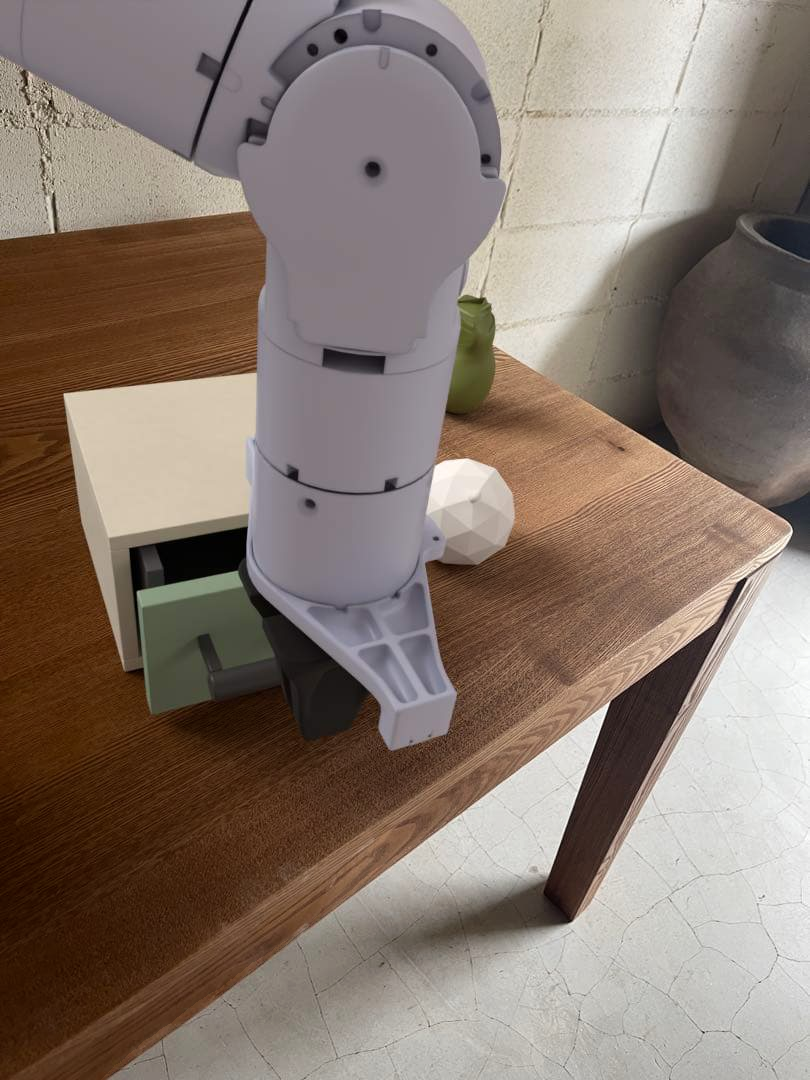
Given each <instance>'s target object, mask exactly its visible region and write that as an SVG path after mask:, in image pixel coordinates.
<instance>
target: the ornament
mask: <svg viewBox="0 0 810 1080" xmlns="http://www.w3.org/2000/svg"><path fill="white" fill-rule="evenodd" d="M426 514H427V515H428V516H429V517H430V518H431V519H432V520H433V521H434V523H435V524H436V525H437V527H438V528H439V529H440V531H441V532H442V534H443V535H444V536H445V539H446V545H445V550H444V554H443V556H442V557H441V558H439V559H437V560H436V561H438V562H441V563H443V564H449V565H450V564H452V565H473V566H477V565H480V564H482V563H483V562H484V561H486V560H487V559H489V558H490V557H491V556H493V555H494V554H496V553H498V552H499V551H500V550H502V549H504V548H505V547H506V544H507V542H508V539H509V537H510V535H511V532H512V530H513V527H514V524H515V520H516V519H515V517H516V511H515V503H514V494H513V492H512V491H511V489H510V487H509V486H508V485H507V482H506V481H505V480H504V478H503V476H501V474H500V472H499V471H498V469H497V468H496V467H493V466H491V465H487V464H484V463H482V462H479V461H477V460H473V459H471V458H468V457H467V458H457V459H449V460H443V461H442V462H440V463H438V464H435V468H434V474H433V479H432V485H431V490H430V496H429V501H428V506H427V512H426Z"/></svg>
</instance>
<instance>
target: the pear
mask: <svg viewBox="0 0 810 1080" xmlns="http://www.w3.org/2000/svg"><path fill="white" fill-rule="evenodd" d="M457 307H458V309H459V312H460V318H461V329H460V335H459V340H458V344H457V350H456V355H455V361H454V366H453V372H452V377H451V383H450V388H449V394H448V399H447V404H446V410H445V412H448V413H452V414H466V413H469V412H472V411H474V410H476V409H477V408H478V407H480V406H481V405H482V404H483V403H484V401H485V400H486V399H487V398H488V395H489V393H490V392H491V389H492V386H493V384H494V381H495V376H496V368H497V367H496V355H495V351H494V340H495V336H496V330H497V329H496V318H495V317H496V316H495V315H494V313H493V312H492V310H493V307H492V303H490V302H488V300H487V296H484V297H483V296H482V297H477V296H474V295H470V294H463V295H462V296H460V297H458V302H457Z"/></svg>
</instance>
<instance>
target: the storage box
mask: <svg viewBox="0 0 810 1080" xmlns="http://www.w3.org/2000/svg"><path fill="white" fill-rule="evenodd" d="M256 388H257V372H249V373H241V374H232V375H223V376H212V377H204V378H192V379H186V380H175V381H167V382H166V381H165V382H157V383H148V384H140V385H131V386H119V387H111V388H102V389H101V388H100V389H94V390H92V389H91V390H83V391H74V392H66V393H65V392H64V393H63V402H64V407H65V415H66V422H67V429H68V436H69V443H70V449H71V450H70V451H71V458H72V465H73V470H74V471H73V472H74V478H75V485H76V492H77V499H78V507H79V514H80V519H81V520H80V521H81V525H82V528H83V531H84V536H85V538H86V542H87V546H88V549H89V554H90V556H91V560H92V563H93V566H94V571H95V574H96V578H97V581H98V585H99V588H100V592H101V595H102V598H103V602H104V605H105V609H106V612H107V616H108V619H109V623H110V626H111V630H112V634H113V637H114V640H115V644H116V647H117V650H118V655H119V658H120V661H121V664H122V668H123V671H124V672H130V671H134V670H138V669H144V664H143V654H142V643H141V633H140V622H139V618H138V615H137V612H136V609H135V605H134V595H133V585H132V575H131V565H130V554H129V548H132V547H137V546H143V545H148V544H154V543H159V542H165V541H170V540H176V539H181V538H187V537H192V536H198V535H203V534H209V533H214V532H220V531H225V530H231V529H236V528H242V527H247V526H248V521H249V509H250V496H251V486H250V484H249V482H248V480H247V478H246V438H248V437H255V433H256Z"/></svg>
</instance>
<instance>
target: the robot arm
mask: <svg viewBox="0 0 810 1080" xmlns="http://www.w3.org/2000/svg"><path fill="white" fill-rule="evenodd" d="M0 57H2V58H4V59H6V60H7V61H9V62H10V63H12V64H14V65H16V66H18V67H20V68H22V69H23V70H25V71H27V72H29V73H30V74H31V75H32V74H33V75H34V76H35V77H38V79H41V80H42V81H45V82H47V84H49V85H52V86H53V87H55V88H57V89H59V90H60V91H63V92H64V93H66V94H67V95H69V96H71V97H73V98H75V99H77V100H78V101H80V102H82V103H84V104H85V105H87V106H88V107H90V108H93V109H94V110H96V111H98V112H100V113H101V114H103V115H105V116H106V117H109V118H110V119H112V120H114V121H116V122H117V123H119V124H121V125H123V126H124V127H127V128H128V129H130V130H132V131H133V132H135V133H137V134H138V135H141V136H142V137H144V138H146V139H148V140H149V141H151V142H153V143H154V144H157V145H158V146H160V147H162V148H164V149H165V150H168V151H169V152H171V153H172V154H174V155H176V156H178V157H179V158H182V159H183V160H185V161H187V162H188V163H193V164H194V166H195V167H197V168H199V169H201V170H203V171H204V172H206V173H208V174H210V175H212V176H214V177H218V178H225V179H230V180H234V181H238V182H240V186H241V188H242V193H243V196H244V198H245V201H246V204H247V207H248V209H249V212H250V213H251V215H252V217H253V219H254V221H255V224H256V225H257V226H258V228H259V230H260V231H261V233H262V234H263V236H264V237H265V239H266V249H265V251H266V252H265V283H264V284H263V286H262V288H261V289H260V294H259V297H258V301H257V344H256V345H257V346H256V348H257V349H256V351H257V352H256V373H257V388H256V433H255V437H248V438H246V478H247V480H248V482H249V484H250V486H251V496H250V509H249V521H248V534H247V557H246V558H244V559H243V560H242V561H241V563H240V565H239V568H238V575H239V577H240V580H241V582H242V584H243V586H244V588H245V591H246V593H247V595H248V597H249V599H250V602H251V603H252V605H253V606H254V607H255V608H256V610H257V611H258V612H259V614H260V615H261V617H262V618H263V620H262V628H263V630H264V632H265V635H266V637H267V639H268V641H269V643H270V646H271V648H272V650H273V652H274V655H275V660H276V664H277V669H278V673H279V678H280V682H281V685H280V687H281V689H282V693H283V695H284V698H285V700H286V702H287V705H288V707H289V709H290V711H291V714H292V715H294V720H295V723H296V724H297V727H298V729H299V732H300V734H301V736H302V739H303V740H304V741H305V742H312V741H316V740H319V739H322V738H325V737H329V736H332V735H335V734H339V733H342V732H345V731H349V730H350V728H351V727H352V725H353V723H354V722H355V720H356V718H357V717H358V715H359V713H360V711H361V709H362V707H363V706H364V704H365V702H366V701H367V699H368V698H369V697H370V695H372V696H373V697H374V699H375V700H376V701H377V702H378V704H379V706H380V715H379V721H378V732H379V734H380V736H381V738H382V740H383V741H384V743H385V745H386V747H387V749H388V750H389V751H391V752H392V751H396V750H399V749H403V748H405V747H409V746H414V745H417V744H420V743H423V742H426V741H430V740H432V739H435V738H438V737H441V736H445V735H447V734H448V731H449V727H450V724H451V720H452V716H453V712H454V708H455V704H456V700H457V697H458V692H457V691H456V689H455V688H454V686H453V683H452V682H451V680H450V678H449V677H448V673H447V672H446V670H445V668H444V664H443V661H442V657H441V654H440V653H441V652H440V648H439V643H438V637H437V631H436V624H435V618H434V612H433V606H432V600H431V594H430V587H429V581H428V573H427V569H426V563H428V562H432V561H435V560H436V561H438V560H437V559H439V558H441V557H442V556H443V554H444V550H445V545H446V539H445V536H444V535H443V534H442V532H441V531H440V529H439V528H438V527H437V525H436V524H435V523H434V521H433V520H432V519H431V518H430V517H429V516H428V515H427V514H426V512H427V506H428V501H429V496H430V490H431V485H432V479H433V474H434V468H435V466H436V464H437V456H438V453H439V447H440V442H441V436H442V431H443V425H444V421H445V415H446V411H445V410H446V404H447V399H448V394H449V388H450V383H451V377H452V372H453V366H454V361H455V355H456V350H457V344H458V340H459V335H460V329H461V318H460V312H459V309H458V307H457V302H458V299H459V298H460V297H461V295H462V293H463V291H464V289H465V286H466V283H467V280H468V274H469V267H470V258H471V257H472V256H473V255H474V254H475V252H476V251H478V249H479V247H480V246H481V245H482V244H483V243H484V241H485V240H486V238H487V237H488V235H489V234H490V232H491V230H492V228H493V226H494V225H495V222H496V221H497V218H498V216H499V214H500V211H501V209H502V206H503V203H504V199H505V197H506V193H507V185H506V183H505V181H504V180H503V179H501V178H500V171H501V160H502V138H501V128H500V124H499V120H498V115H497V111H496V107H495V102H494V97H493V93H492V89H491V83H490V80H489V79H490V78H489V75H488V71H487V67H486V64H485V63H486V62H485V60H484V58H483V55H482V52H481V50H480V48H479V46H478V43H477V42H476V40H475V38H474V36H473V35H472V33H471V32H470V30H469V28H468V27H467V26H466V24H465V23H464V22H463V21H462V20H461V19H460V18H459V17H458V16H457V14H456V13H455V12H454V11H453V10H452V9H451V8H450V7H448V6H447V5H446V4H445V3H443V2H442V1H441V0H0Z"/></svg>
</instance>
